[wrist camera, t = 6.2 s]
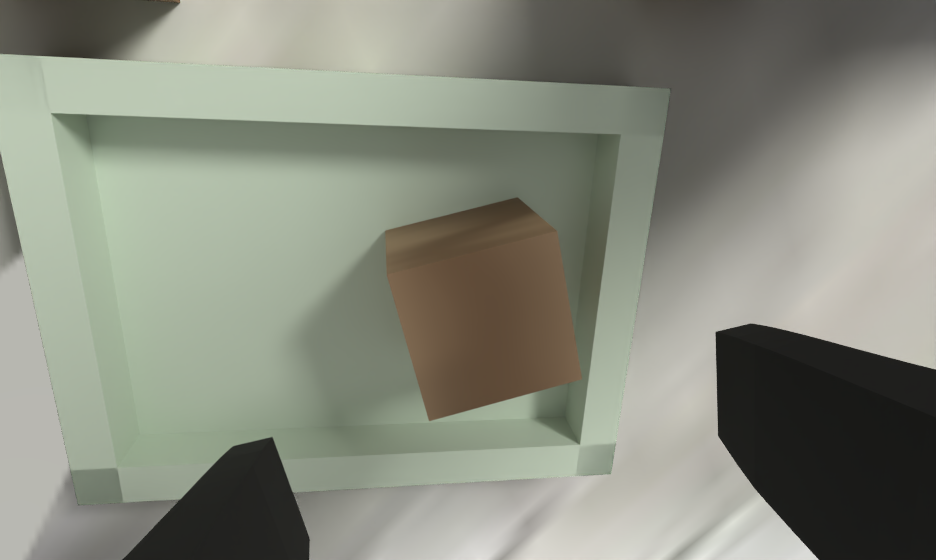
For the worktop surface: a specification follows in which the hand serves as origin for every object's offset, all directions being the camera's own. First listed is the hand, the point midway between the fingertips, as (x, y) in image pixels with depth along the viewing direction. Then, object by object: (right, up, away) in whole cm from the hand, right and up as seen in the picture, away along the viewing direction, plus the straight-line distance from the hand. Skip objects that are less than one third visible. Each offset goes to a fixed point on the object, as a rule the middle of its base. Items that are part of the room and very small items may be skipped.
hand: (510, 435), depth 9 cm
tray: (-4, +3, +9) cm, 10 cm away
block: (-1, +3, +8) cm, 9 cm away
